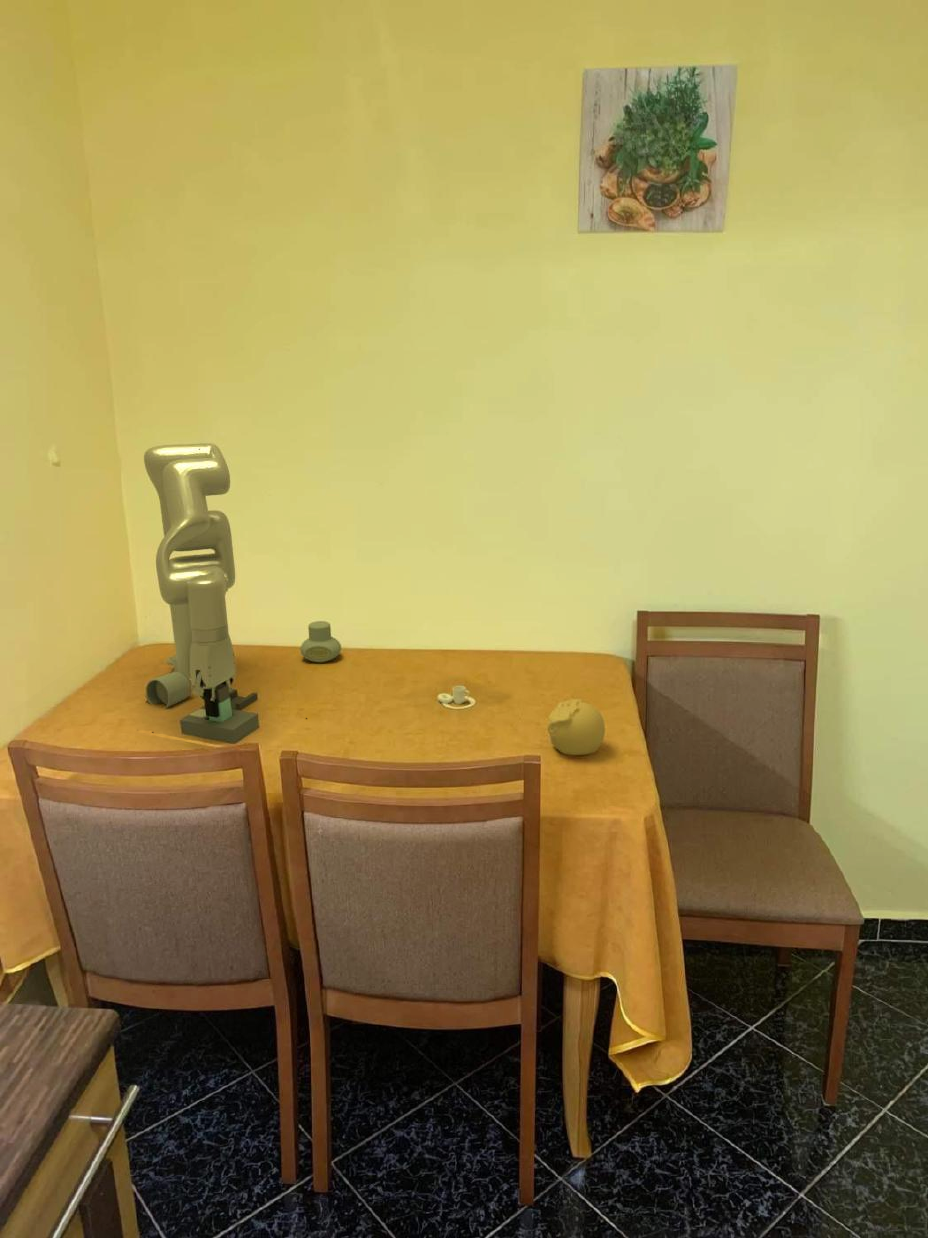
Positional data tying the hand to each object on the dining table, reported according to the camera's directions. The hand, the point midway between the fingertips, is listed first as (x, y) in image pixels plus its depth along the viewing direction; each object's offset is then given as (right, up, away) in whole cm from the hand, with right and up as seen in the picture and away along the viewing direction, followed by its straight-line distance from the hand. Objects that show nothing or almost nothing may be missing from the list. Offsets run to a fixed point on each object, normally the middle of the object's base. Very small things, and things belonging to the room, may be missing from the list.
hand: (218, 711), depth 190 cm
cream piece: (+52, +1, +20) cm, 56 cm away
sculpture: (+77, -7, -7) cm, 78 cm away
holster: (0, 0, +16) cm, 16 cm away
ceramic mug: (-18, 0, +18) cm, 26 cm away
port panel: (0, -5, +2) cm, 5 cm away
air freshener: (+15, +9, +46) cm, 50 cm away
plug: (0, -2, 0) cm, 2 cm away
